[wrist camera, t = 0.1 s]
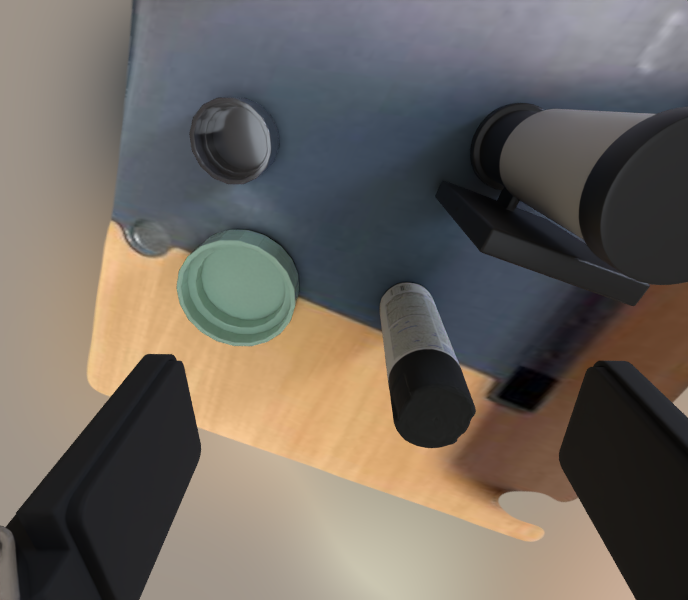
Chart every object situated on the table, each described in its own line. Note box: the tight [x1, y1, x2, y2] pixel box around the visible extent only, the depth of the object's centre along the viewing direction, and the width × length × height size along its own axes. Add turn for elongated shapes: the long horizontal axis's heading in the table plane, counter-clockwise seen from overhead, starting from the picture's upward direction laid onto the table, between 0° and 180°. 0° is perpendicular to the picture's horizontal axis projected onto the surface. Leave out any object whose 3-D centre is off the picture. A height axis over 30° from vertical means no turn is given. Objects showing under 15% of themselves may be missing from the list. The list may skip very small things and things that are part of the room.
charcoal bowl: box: [190, 98, 279, 184], centre depth 39 cm, size 7×7×5 cm
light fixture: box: [435, 103, 688, 306], centre depth 31 cm, size 12×11×25 cm
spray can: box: [380, 282, 476, 448], centre depth 40 cm, size 7×7×20 cm
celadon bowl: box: [177, 230, 299, 346], centre depth 46 cm, size 13×13×4 cm
